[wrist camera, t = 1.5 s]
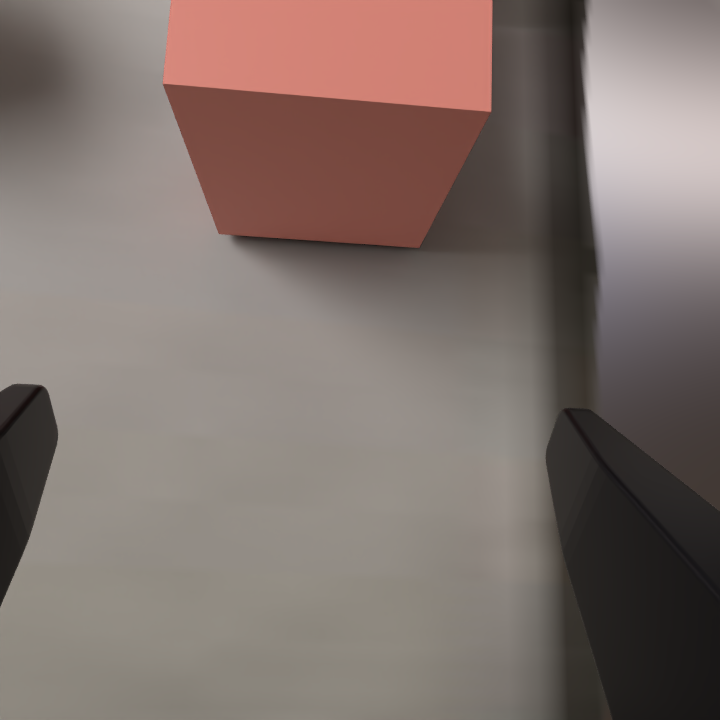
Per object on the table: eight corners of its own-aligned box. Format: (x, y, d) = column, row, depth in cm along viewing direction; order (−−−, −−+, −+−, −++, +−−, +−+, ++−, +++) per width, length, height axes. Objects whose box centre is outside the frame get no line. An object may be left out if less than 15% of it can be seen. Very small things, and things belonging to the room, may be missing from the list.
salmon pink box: (419, 248, 23) (491, 112, 14) (219, 234, 22) (162, 83, 14) (425, 18, 24) (494, -236, 16) (237, 0, 24) (198, -273, 15)
